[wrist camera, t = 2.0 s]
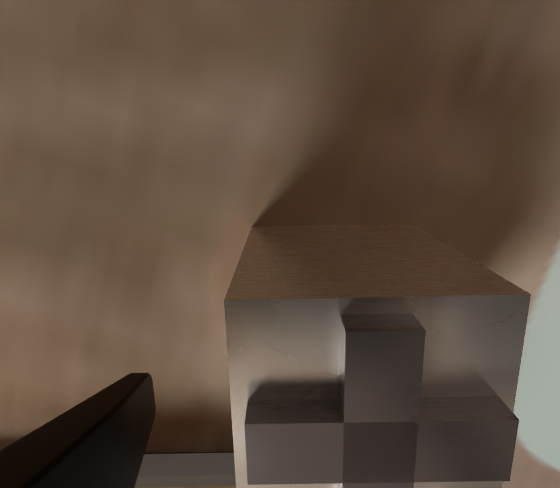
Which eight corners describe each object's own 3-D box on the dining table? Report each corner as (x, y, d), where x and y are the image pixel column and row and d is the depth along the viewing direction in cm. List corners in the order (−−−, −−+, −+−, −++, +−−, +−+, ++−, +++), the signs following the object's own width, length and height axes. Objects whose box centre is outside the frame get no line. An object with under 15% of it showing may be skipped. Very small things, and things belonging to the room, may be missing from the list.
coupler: (410, 222, 12) (556, 308, 6) (401, 364, 13) (513, 566, 7) (251, 226, 12) (218, 315, 6) (257, 366, 13) (235, 570, 7)
